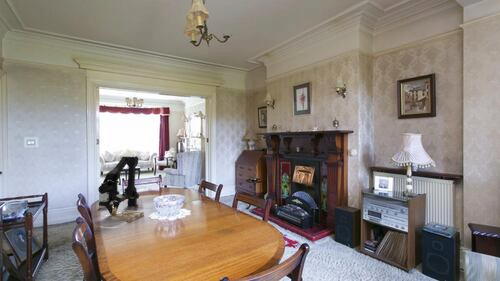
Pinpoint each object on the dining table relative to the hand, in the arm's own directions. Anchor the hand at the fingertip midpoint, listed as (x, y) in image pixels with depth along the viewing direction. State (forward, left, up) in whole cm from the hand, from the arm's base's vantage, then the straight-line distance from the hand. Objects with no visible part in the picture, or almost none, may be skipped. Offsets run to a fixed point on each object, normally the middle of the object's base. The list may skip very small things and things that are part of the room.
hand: (113, 212), depth 171 cm
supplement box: (-17, -23, -2) cm, 29 cm away
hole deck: (+2, +14, -2) cm, 14 cm away
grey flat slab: (0, 0, -2) cm, 2 cm away
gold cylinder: (0, 0, -1) cm, 1 cm away
